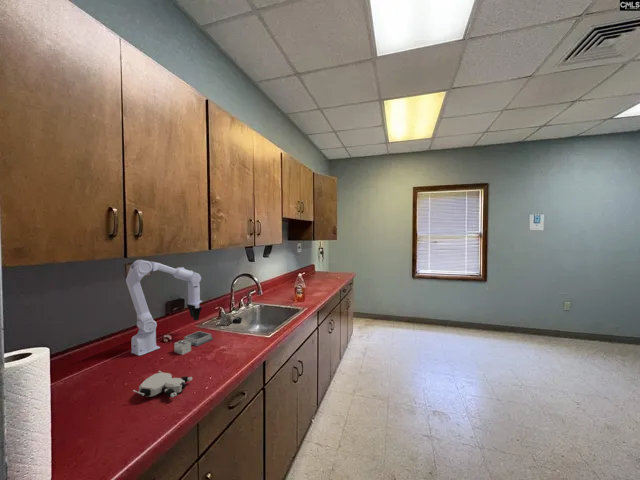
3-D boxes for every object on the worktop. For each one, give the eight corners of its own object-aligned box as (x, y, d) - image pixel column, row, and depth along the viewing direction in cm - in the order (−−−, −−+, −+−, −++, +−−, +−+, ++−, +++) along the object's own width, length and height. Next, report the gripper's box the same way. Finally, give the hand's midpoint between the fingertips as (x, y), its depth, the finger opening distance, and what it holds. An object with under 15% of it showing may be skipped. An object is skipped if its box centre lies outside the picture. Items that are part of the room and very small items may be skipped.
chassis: (196, 346, 126) (196, 341, 126) (182, 342, 132) (182, 336, 132) (213, 339, 134) (213, 334, 134) (199, 335, 140) (199, 330, 140)
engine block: (182, 355, 117) (181, 344, 117) (174, 352, 120) (174, 342, 120) (191, 351, 121) (190, 340, 121) (183, 348, 124) (183, 338, 124)
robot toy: (194, 384, 95) (156, 380, 96) (195, 372, 95) (157, 368, 96) (173, 406, 83) (130, 401, 84) (174, 392, 83) (131, 388, 84)
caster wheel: (242, 325, 162) (235, 328, 152) (226, 321, 164) (218, 324, 154) (245, 315, 163) (237, 317, 153) (229, 310, 165) (221, 313, 155)
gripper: (205, 295, 136) (205, 320, 136) (198, 290, 148) (199, 313, 148) (190, 297, 132) (191, 322, 132) (185, 292, 143) (185, 316, 143)
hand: (194, 318), depth 139 cm, fingers open, 7 cm apart
